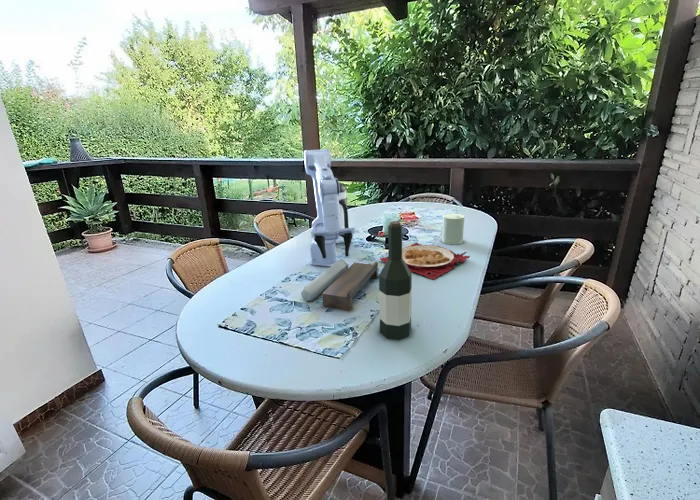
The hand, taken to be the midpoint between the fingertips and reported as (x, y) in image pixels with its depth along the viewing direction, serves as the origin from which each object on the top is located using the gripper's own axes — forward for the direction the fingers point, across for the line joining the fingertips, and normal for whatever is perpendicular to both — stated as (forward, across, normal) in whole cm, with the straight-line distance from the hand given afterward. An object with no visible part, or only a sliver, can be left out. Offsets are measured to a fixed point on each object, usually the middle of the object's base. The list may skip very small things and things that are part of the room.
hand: (335, 257), depth 121 cm
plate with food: (+7, +29, +26) cm, 40 cm away
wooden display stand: (+11, +5, 0) cm, 12 cm away
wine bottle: (+19, +19, -23) cm, 35 cm away
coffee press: (-1, -8, +46) cm, 46 cm away
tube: (+10, -5, +2) cm, 12 cm away
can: (+3, +43, +50) cm, 66 cm away
